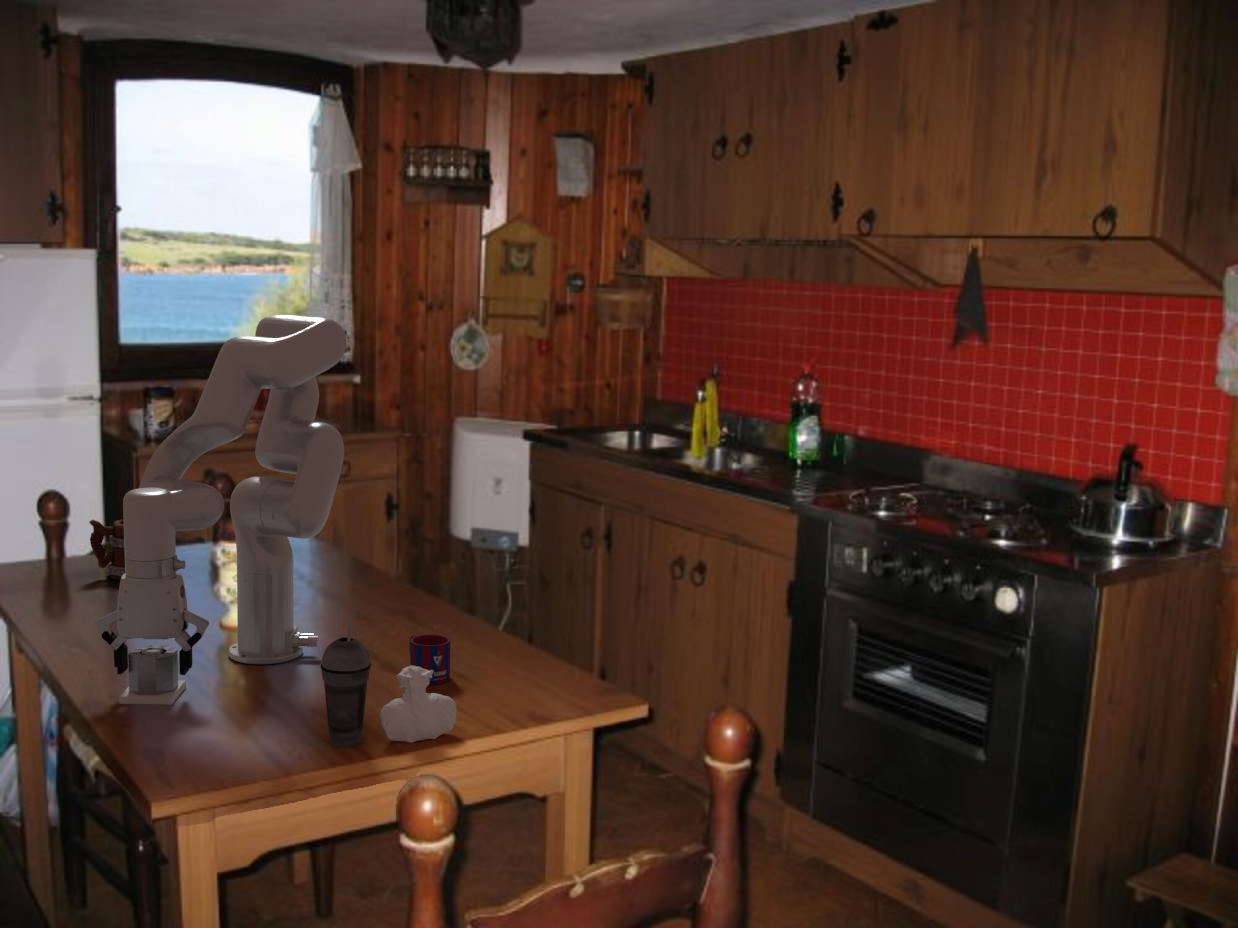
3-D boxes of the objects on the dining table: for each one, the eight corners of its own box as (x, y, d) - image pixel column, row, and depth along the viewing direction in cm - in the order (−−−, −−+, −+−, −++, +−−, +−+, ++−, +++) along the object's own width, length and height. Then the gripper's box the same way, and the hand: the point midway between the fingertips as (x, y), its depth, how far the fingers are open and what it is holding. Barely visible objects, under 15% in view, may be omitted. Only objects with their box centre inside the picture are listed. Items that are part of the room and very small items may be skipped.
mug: (175, 577, 276) (162, 510, 272) (106, 595, 268) (91, 527, 265) (162, 565, 285) (148, 500, 281) (95, 582, 278) (80, 516, 274)
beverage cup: (349, 727, 194) (349, 599, 191) (381, 740, 189) (382, 609, 186) (309, 740, 188) (309, 608, 185) (341, 754, 184) (342, 618, 181)
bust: (453, 742, 196) (437, 672, 200) (469, 726, 190) (452, 654, 194) (377, 754, 190) (362, 682, 194) (391, 738, 184) (376, 664, 189)
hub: (181, 681, 208) (180, 645, 207) (169, 695, 201) (168, 658, 200) (138, 680, 208) (137, 644, 207) (125, 694, 201) (124, 657, 200)
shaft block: (185, 687, 209) (185, 644, 208) (171, 704, 201) (170, 660, 200) (135, 686, 208) (134, 643, 207) (119, 703, 200) (118, 659, 199)
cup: (418, 687, 213) (419, 647, 212) (397, 669, 222) (397, 631, 220) (456, 681, 216) (456, 642, 215) (433, 664, 225) (433, 627, 224)
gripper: (213, 562, 206) (215, 665, 208) (102, 560, 205) (106, 663, 207) (200, 574, 198) (203, 680, 201) (85, 572, 197) (89, 679, 200)
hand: (153, 671), depth 204 cm, fingers open, 9 cm apart
